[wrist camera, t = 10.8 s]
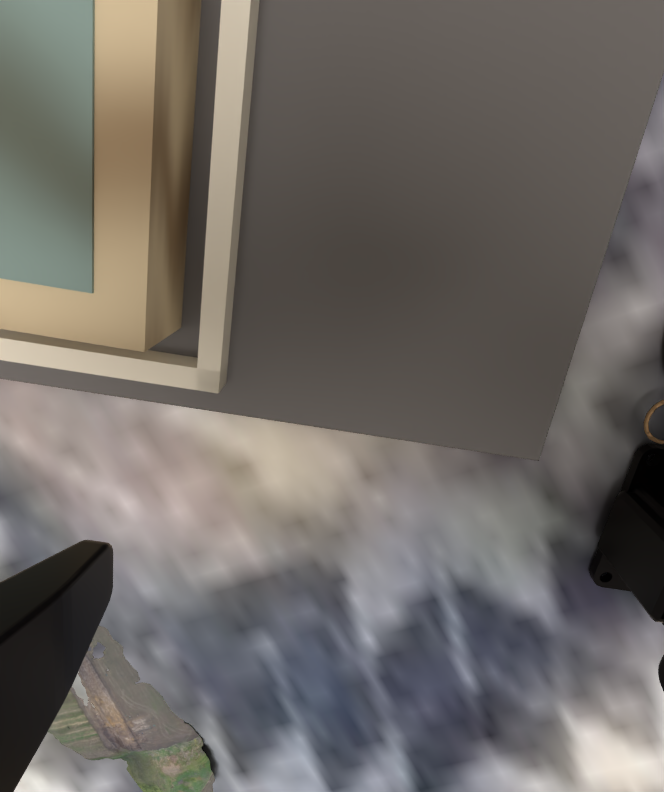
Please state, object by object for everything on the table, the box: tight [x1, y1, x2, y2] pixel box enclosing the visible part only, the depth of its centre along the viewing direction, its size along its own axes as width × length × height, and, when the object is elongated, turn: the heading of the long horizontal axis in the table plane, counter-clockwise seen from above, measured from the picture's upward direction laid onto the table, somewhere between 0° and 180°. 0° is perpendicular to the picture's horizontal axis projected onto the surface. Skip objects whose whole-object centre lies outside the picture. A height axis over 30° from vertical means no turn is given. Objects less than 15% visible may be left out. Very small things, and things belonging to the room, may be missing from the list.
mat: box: [0, 0, 664, 461], centre depth 15 cm, size 24×22×2 cm
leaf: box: [48, 626, 215, 792], centre depth 25 cm, size 20×8×1 cm, turn 25°
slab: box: [0, 0, 201, 352], centre depth 15 cm, size 10×6×4 cm, turn 171°
